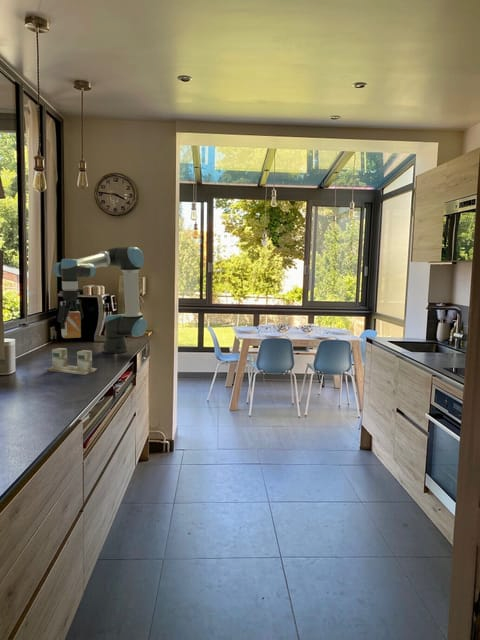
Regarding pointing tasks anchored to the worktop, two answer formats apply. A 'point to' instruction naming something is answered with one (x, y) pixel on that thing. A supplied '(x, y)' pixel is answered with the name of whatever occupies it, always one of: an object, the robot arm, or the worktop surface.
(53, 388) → the worktop surface
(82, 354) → the cream u-shaped bracket
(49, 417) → the worktop surface
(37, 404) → the worktop surface
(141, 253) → the robot arm
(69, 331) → the small box
